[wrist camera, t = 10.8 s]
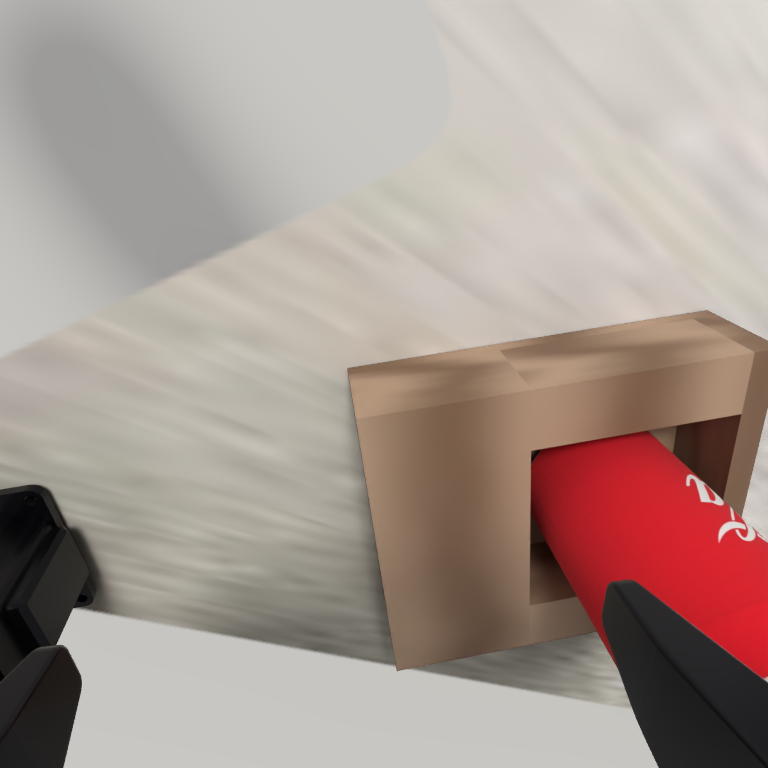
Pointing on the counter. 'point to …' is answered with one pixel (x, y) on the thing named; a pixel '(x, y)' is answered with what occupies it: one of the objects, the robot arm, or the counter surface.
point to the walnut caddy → (514, 458)
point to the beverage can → (653, 538)
